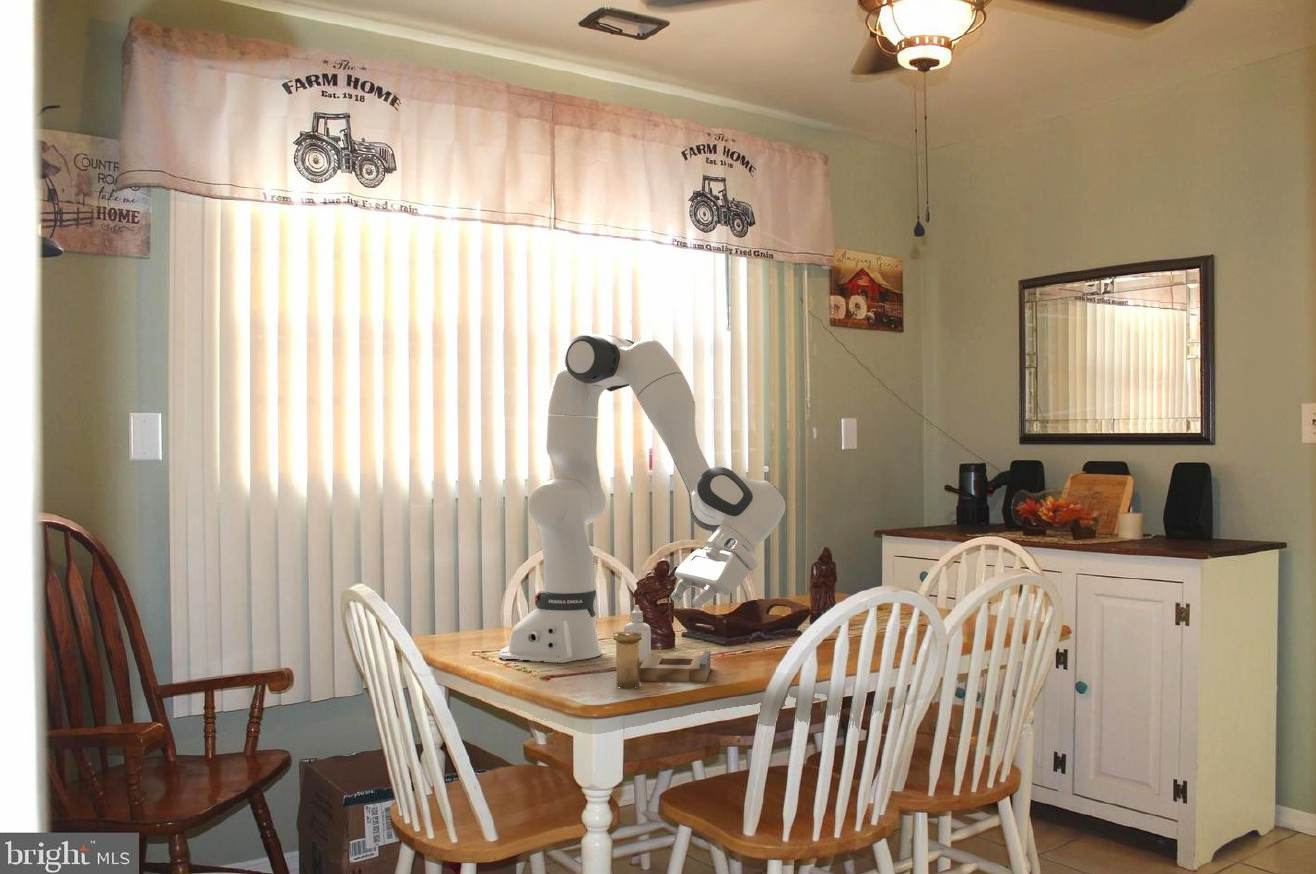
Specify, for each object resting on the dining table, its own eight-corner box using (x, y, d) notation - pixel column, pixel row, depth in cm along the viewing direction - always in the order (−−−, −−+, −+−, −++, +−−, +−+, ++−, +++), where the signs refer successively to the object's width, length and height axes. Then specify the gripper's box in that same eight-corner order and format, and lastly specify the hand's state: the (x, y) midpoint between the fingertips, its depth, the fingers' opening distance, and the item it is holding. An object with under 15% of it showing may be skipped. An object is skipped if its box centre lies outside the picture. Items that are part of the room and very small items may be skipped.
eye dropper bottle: (639, 665, 217) (639, 607, 217) (620, 661, 221) (620, 605, 221) (654, 661, 220) (653, 605, 220) (635, 658, 224) (634, 603, 224)
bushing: (611, 689, 195) (611, 636, 195) (616, 682, 200) (616, 631, 200) (640, 689, 194) (639, 636, 194) (644, 683, 199) (643, 631, 199)
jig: (639, 680, 202) (639, 662, 202) (648, 667, 215) (647, 650, 215) (705, 681, 200) (705, 663, 200) (710, 668, 213) (710, 651, 213)
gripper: (694, 536, 215) (652, 586, 211) (742, 543, 196) (696, 598, 192) (713, 556, 217) (672, 606, 212) (762, 565, 198) (718, 620, 194)
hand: (684, 602), depth 202 cm, fingers open, 8 cm apart
